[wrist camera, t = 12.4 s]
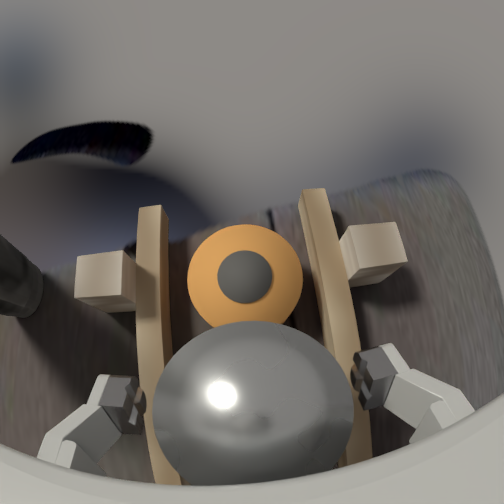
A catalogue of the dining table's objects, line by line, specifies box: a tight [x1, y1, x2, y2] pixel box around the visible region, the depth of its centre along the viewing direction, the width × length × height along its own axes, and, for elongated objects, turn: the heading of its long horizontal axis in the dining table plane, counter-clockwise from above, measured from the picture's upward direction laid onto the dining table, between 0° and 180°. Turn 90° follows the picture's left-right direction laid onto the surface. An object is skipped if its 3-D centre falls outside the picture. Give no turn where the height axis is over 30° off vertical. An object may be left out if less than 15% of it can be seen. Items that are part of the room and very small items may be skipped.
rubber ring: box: [187, 225, 303, 328], centre depth 16 cm, size 6×6×3 cm
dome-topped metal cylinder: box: [152, 321, 354, 486], centre depth 11 cm, size 5×5×10 cm
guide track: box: [74, 188, 408, 485], centre depth 13 cm, size 18×26×4 cm
